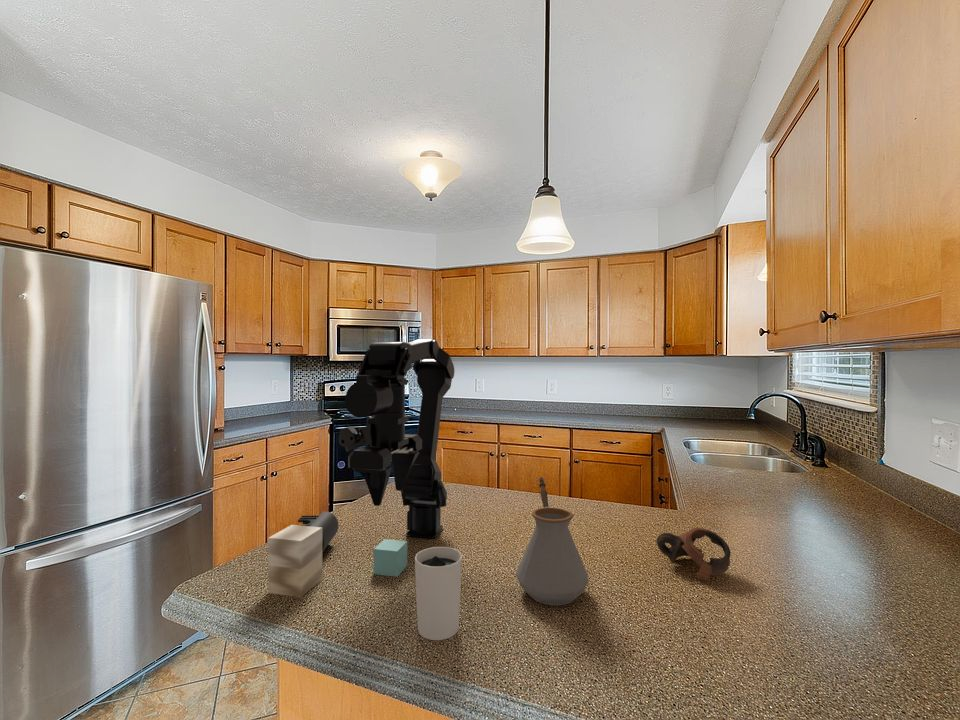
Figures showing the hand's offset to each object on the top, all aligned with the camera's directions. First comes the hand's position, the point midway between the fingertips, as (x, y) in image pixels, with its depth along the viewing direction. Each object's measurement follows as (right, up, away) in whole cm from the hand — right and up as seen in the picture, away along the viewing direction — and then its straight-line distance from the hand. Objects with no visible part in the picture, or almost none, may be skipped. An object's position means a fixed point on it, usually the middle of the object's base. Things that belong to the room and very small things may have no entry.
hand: (388, 497), depth 80 cm
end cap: (-16, -13, +7) cm, 22 cm away
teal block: (0, -13, 0) cm, 13 cm away
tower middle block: (-14, -9, -6) cm, 18 cm away
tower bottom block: (-14, -13, -6) cm, 20 cm away
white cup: (+11, -13, -18) cm, 24 cm away
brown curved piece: (+55, -13, 0) cm, 57 cm away
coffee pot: (+28, -13, -3) cm, 31 cm away
